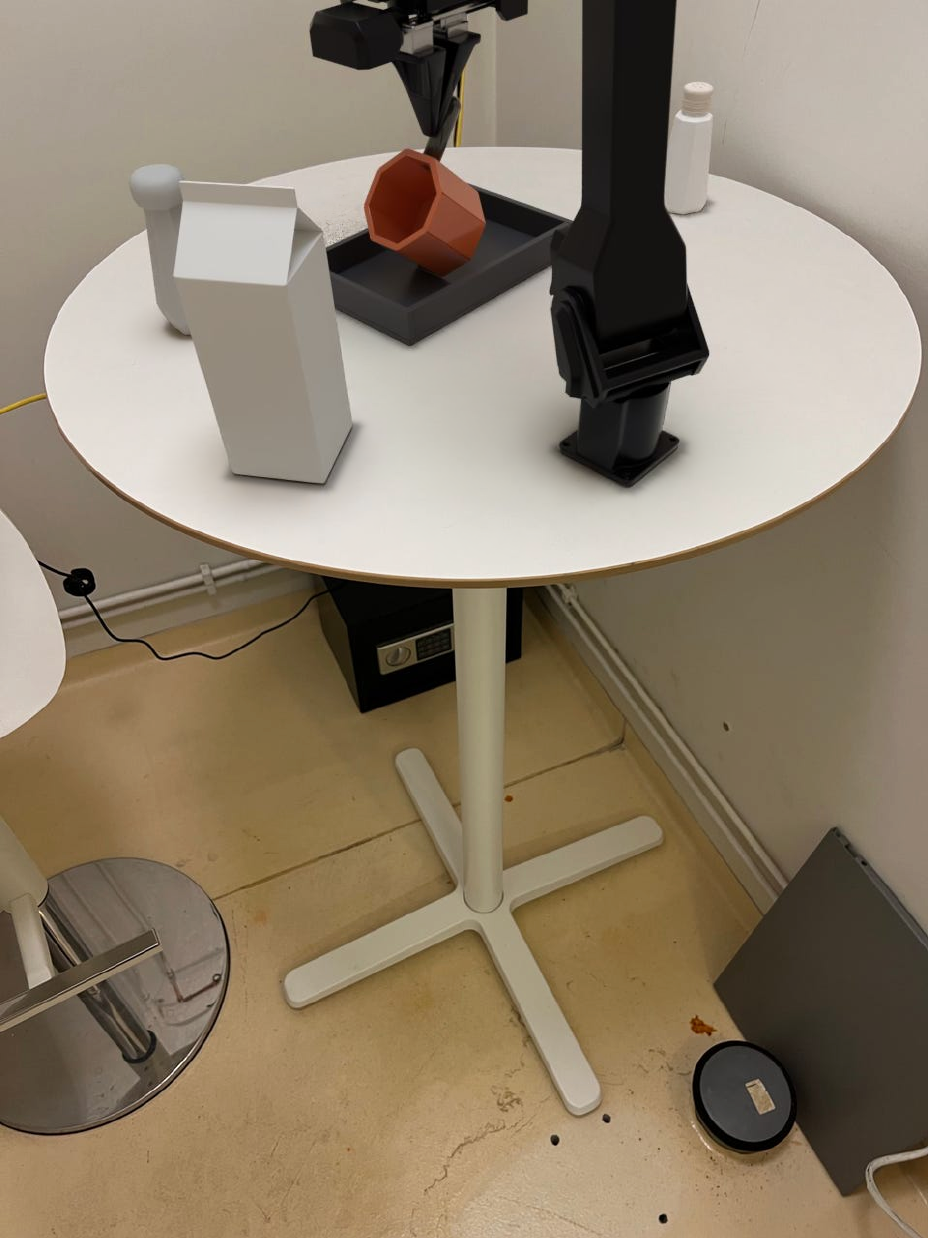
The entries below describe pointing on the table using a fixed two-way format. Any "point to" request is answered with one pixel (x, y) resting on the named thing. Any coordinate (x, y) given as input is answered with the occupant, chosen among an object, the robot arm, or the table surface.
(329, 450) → the milk carton
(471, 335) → the table surface
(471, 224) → the pot
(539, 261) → the black tray
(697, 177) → the pepper shaker
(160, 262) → the salt shaker
